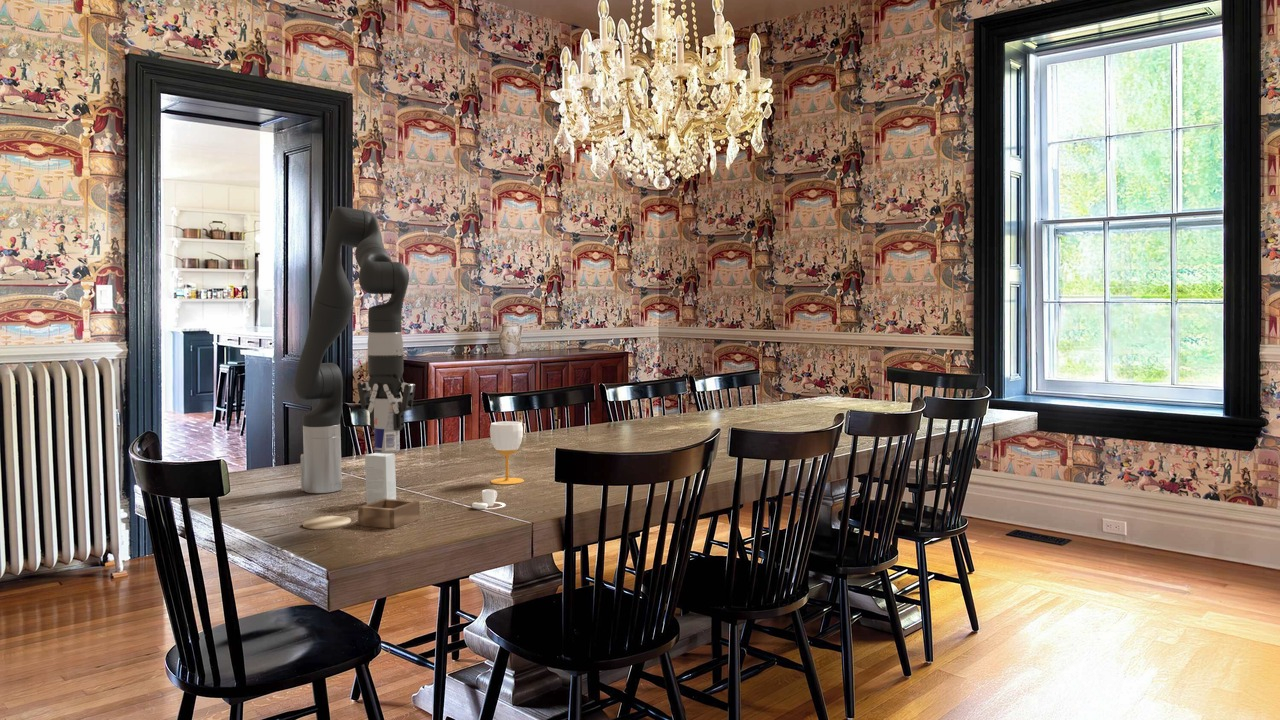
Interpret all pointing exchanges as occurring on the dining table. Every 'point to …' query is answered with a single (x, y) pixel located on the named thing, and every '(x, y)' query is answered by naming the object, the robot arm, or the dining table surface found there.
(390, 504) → the walnut holder
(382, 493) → the skincare box
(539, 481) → the dining table surface
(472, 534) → the dining table surface
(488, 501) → the teacup and saucer
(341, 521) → the cork coaster
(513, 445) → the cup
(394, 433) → the energy drink
